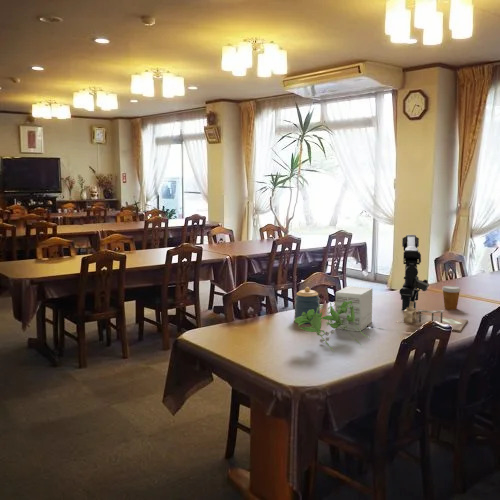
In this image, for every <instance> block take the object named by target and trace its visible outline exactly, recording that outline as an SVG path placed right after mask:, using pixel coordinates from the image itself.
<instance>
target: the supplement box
mask: <svg viewBox="0 0 500 500" xmlns="http://www.w3.org/2000/svg"><path fill="white" fill-rule="evenodd" d="M345 301H347V302H349V301H352V304H351V303H350V304H348V305H351V307H352V306H353V309H354V314H355V320H354V323H353V322H348V321H347V314H348V315H351V308H350V307H347V312H346V313H342V314H340V315H339V317H340V319H341V321H342V320H343V319H345V320H344V321H343V325H342V323H341V325H340V326H339V327H338V328H335V330H336V329H338V330H343V329H342V328H344V327H345V329H344V330H345V331H351V330H352V332H358V331H359V330H360V331H361V332H362V331H363V330H365V329H367V328H368V327H369V326H368V325H370V324H371V323H372V322H373V288H371V287H365V286H363V287H362V286H353V285H352V286H351V285H348V286H345V287H343V288H342V289H340V290H338V291H337V290H336V292H335V303H336V305H335V312H336V313H337V311H338V310H339V309H340V308H339V305H340V306H341V305H342V303H343V302H345ZM337 308H339V309H337ZM340 310H341V309H340ZM351 318H352V317H351ZM335 322H336V321H334V323H335ZM344 324H345V326H344ZM355 325H356V326H357V327H356V326H355ZM342 326H343V327H342ZM346 326H347V327H346ZM340 327H341V328H340ZM358 329H359V330H358ZM360 331H359V332H360ZM359 332H358V333H359ZM361 332H360V333H361Z"/></svg>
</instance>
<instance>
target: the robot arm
mask: <svg viewBox="0 0 500 500" xmlns="http://www.w3.org/2000/svg"><path fill="white" fill-rule="evenodd" d="M419 242H420V238H419V237H417V235H415V234H406V235H405V236H404V237H402V240H401V243H402V244H401V246H402V247H403V261H402V262H403V265H405V266H404V277H403V280H404V283H403V284H402V287H401V288H400V289H399V294H400V300H402V303H401V311H404V310H406V307H407V308H409V305H410V301H413V302H414V308H416V309H417V302H416V301H418V300H419V292H420V291H422V292H427V290H428V288H429V286H430V283H429V280H427V279H424V280H420V279H419V275H418V274H419V269H418V265H420V263H422V254H421V252H420V251H419V245H420V244H419Z"/></svg>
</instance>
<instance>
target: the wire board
mask: <svg viewBox="0 0 500 500" xmlns="http://www.w3.org/2000/svg"><path fill="white" fill-rule="evenodd" d="M417 312H419V313H418V314H417V313H416V319H412V323H410V322H404V315H403V316H402V317H400V318H399V319H398V320H397V321H396V323H398V324H406V325H413V326H421V327H423V326H422V325H423V324H425V323H426V322H428V321H431V320H432V321H433V320H434V321H438V322H440V323H444V324H449V325H452V327H453V331H452V332H454V331H456V333H461V332H462V330H463V329H464V327H465V326H466V325H467V324H468V322H469V319H463V318H455V317H448V316H447V317H446V316H445V317H444V316H443V313H445V310H426V309H417ZM422 313H429V314H431V315H429V314H428V315H427V314H422ZM439 313H440V316H438V315H434V314H439Z"/></svg>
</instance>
